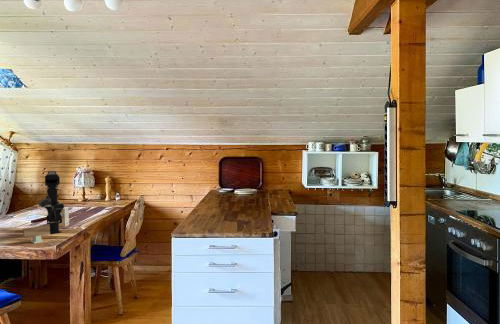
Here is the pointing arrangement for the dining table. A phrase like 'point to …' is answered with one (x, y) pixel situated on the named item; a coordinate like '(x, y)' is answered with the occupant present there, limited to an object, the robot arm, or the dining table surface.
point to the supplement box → (64, 217)
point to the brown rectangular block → (36, 231)
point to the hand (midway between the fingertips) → (53, 218)
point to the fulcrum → (36, 239)
